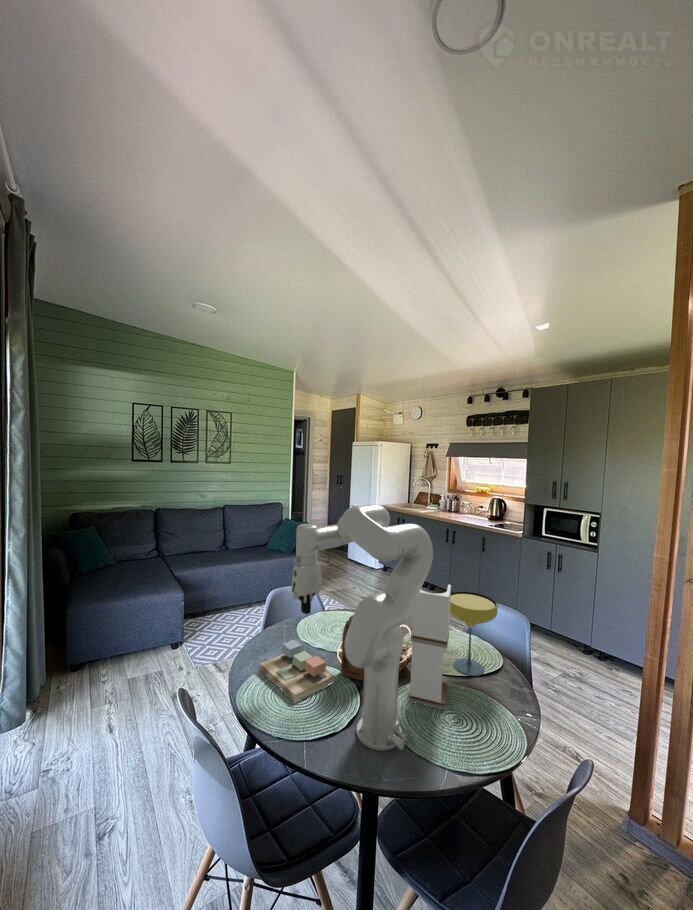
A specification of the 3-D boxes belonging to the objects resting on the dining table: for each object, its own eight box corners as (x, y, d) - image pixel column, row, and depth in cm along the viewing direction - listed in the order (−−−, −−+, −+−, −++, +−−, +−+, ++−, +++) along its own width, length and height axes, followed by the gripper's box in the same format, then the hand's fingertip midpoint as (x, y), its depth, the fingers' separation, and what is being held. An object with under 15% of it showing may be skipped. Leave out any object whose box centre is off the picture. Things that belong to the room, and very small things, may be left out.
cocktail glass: (491, 658, 144) (494, 594, 144) (498, 686, 127) (501, 613, 127) (443, 651, 149) (445, 588, 149) (444, 677, 131) (446, 606, 131)
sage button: (312, 665, 130) (313, 656, 130) (301, 670, 126) (301, 661, 126) (304, 659, 134) (304, 650, 134) (292, 664, 130) (293, 655, 130)
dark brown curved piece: (373, 672, 133) (375, 616, 133) (368, 684, 126) (370, 625, 126) (344, 665, 136) (346, 611, 136) (338, 677, 129) (340, 619, 129)
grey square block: (301, 653, 135) (301, 645, 135) (289, 658, 132) (290, 649, 132) (293, 647, 139) (293, 639, 139) (282, 652, 135) (282, 643, 135)
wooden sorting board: (334, 683, 126) (335, 674, 125) (295, 703, 115) (295, 693, 115) (297, 655, 142) (297, 647, 142) (259, 670, 131) (260, 662, 131)
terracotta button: (325, 671, 125) (325, 662, 125) (313, 676, 121) (313, 667, 121) (316, 664, 128) (316, 655, 128) (304, 669, 125) (304, 660, 125)
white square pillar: (444, 710, 114) (448, 596, 114) (409, 701, 117) (414, 591, 117) (446, 688, 125) (450, 584, 125) (415, 681, 128) (419, 580, 128)
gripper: (295, 566, 122) (294, 622, 122) (330, 558, 132) (329, 610, 132) (282, 561, 127) (281, 615, 127) (317, 554, 137) (316, 604, 137)
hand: (305, 612), depth 129 cm, fingers closed
